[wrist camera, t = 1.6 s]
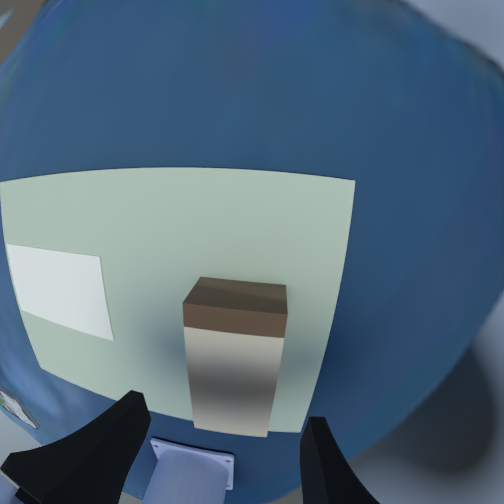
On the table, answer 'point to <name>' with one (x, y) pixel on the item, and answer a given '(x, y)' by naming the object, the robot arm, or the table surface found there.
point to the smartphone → (16, 407)
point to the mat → (171, 271)
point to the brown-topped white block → (234, 353)
